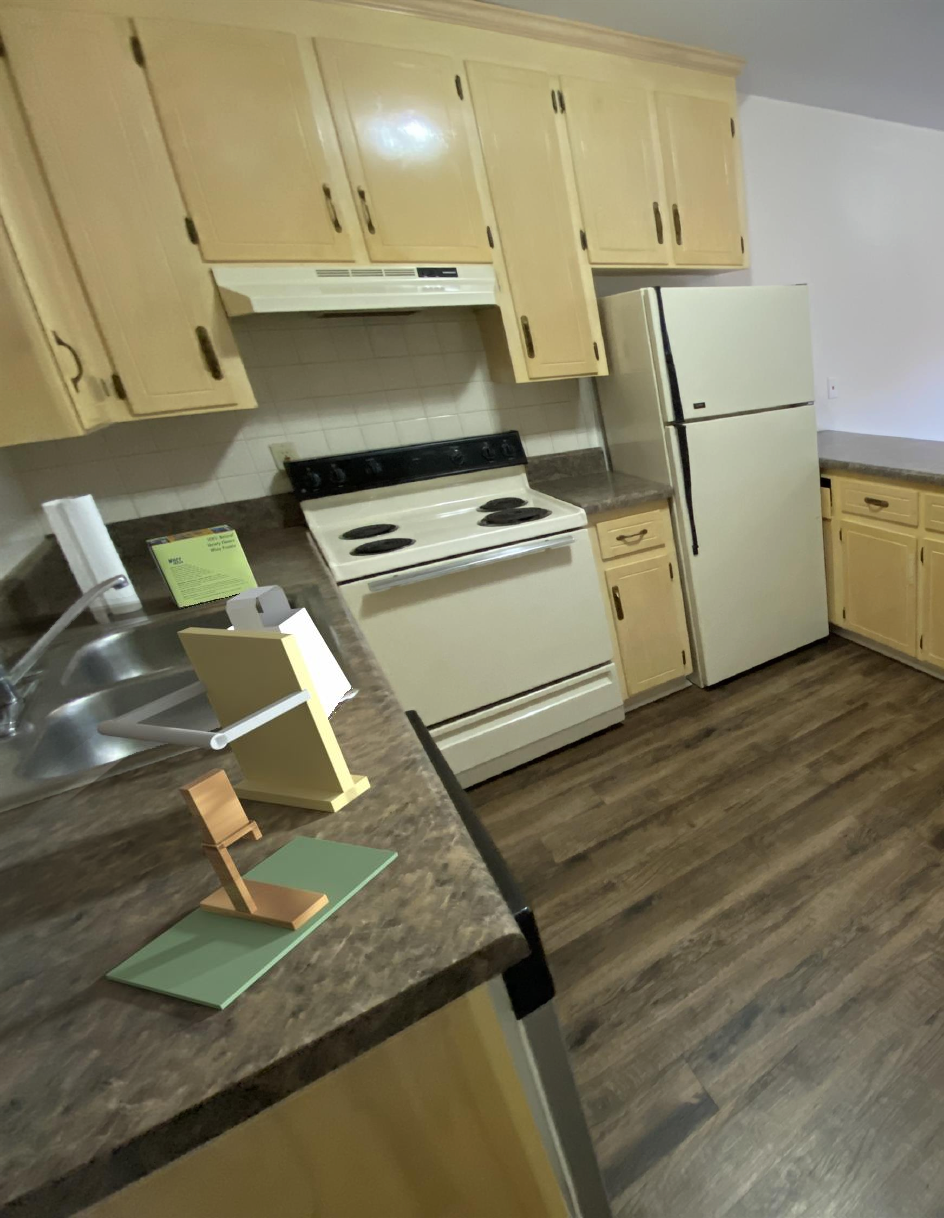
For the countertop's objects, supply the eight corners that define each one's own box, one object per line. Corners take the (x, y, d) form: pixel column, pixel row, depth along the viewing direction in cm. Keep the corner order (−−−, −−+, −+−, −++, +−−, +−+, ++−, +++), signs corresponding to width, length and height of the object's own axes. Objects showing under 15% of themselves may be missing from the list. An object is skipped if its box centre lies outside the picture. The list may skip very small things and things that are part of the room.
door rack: (268, 863, 71) (180, 683, 63) (159, 843, 76) (64, 673, 67) (372, 787, 83) (310, 627, 75) (273, 773, 87) (204, 621, 79)
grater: (245, 737, 97) (187, 611, 89) (282, 702, 106) (233, 585, 99) (324, 724, 99) (273, 600, 91) (354, 691, 108) (310, 576, 101)
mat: (107, 979, 59) (104, 975, 58) (299, 839, 75) (297, 835, 74) (222, 1010, 55) (219, 1006, 55) (398, 855, 71) (396, 852, 71)
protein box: (260, 589, 164) (235, 529, 158) (179, 610, 153) (149, 546, 148) (250, 582, 171) (226, 524, 165) (172, 601, 160) (143, 539, 154)
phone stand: (295, 931, 62) (230, 798, 56) (202, 910, 65) (131, 783, 59) (329, 901, 65) (271, 773, 59) (239, 884, 68) (175, 760, 62)
